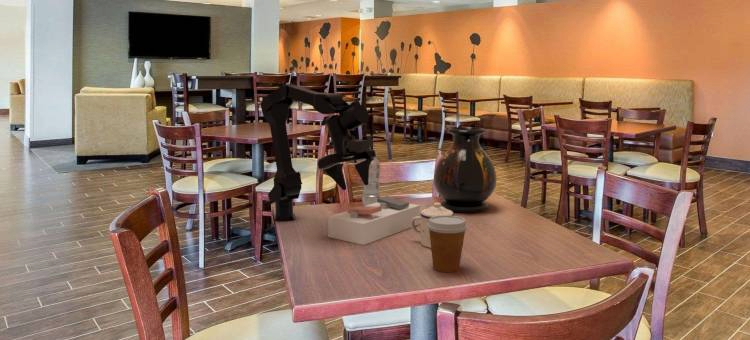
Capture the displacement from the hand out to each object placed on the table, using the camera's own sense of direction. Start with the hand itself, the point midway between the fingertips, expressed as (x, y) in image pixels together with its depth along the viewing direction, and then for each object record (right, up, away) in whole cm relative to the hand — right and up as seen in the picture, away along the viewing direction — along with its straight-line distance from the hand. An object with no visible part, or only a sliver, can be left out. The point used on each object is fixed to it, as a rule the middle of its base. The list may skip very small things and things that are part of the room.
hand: (356, 187), depth 161 cm
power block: (+6, -13, +9) cm, 17 cm away
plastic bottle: (+4, -8, +38) cm, 40 cm away
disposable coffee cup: (+23, -19, -24) cm, 38 cm away
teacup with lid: (+21, -16, -4) cm, 26 cm away
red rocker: (+2, -7, +2) cm, 8 cm away
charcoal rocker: (+11, -6, +13) cm, 18 cm away
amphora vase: (+37, -9, +38) cm, 53 cm away
